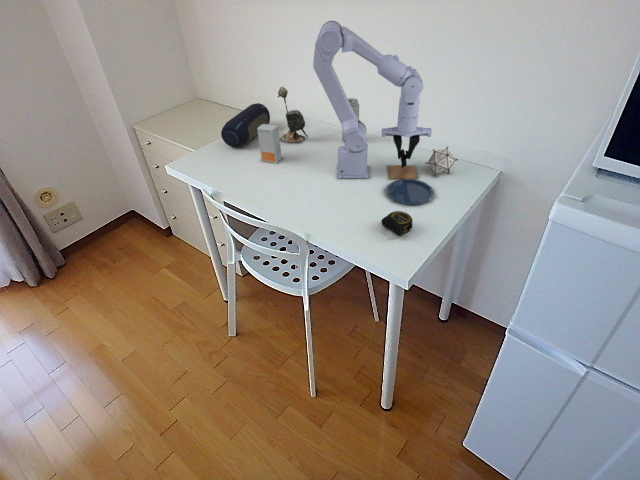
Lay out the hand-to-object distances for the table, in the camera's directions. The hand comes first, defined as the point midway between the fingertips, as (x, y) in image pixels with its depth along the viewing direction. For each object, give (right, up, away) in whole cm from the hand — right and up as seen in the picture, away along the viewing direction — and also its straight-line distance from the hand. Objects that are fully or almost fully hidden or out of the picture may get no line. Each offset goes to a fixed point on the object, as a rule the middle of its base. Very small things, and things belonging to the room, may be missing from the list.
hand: (403, 157), depth 125 cm
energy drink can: (-15, +11, +24) cm, 30 cm away
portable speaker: (-54, +14, +30) cm, 63 cm away
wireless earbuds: (+1, -2, 0) cm, 2 cm away
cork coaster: (0, -4, +3) cm, 5 cm away
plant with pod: (-36, +12, +26) cm, 46 cm away
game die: (+12, -5, +2) cm, 13 cm away
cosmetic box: (-43, +2, +14) cm, 45 cm away
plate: (0, -12, -7) cm, 14 cm away
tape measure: (-6, -23, -20) cm, 32 cm away
